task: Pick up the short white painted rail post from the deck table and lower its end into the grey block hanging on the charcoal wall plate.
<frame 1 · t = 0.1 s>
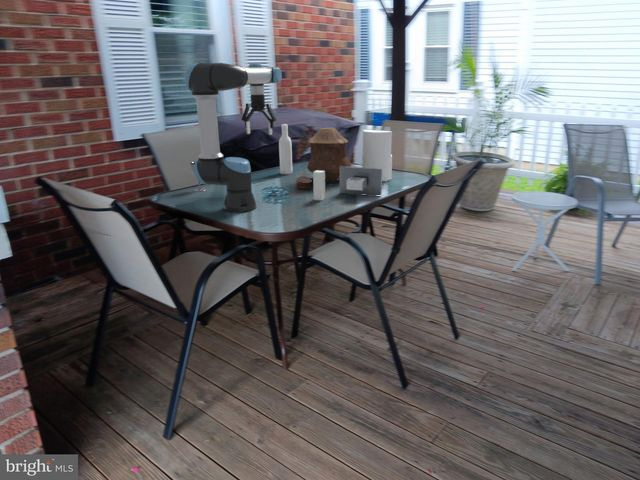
hand: (259, 134, 268), 28 cm above the table, tool pointing down, fingers open, 13 cm apart
grey block: (360, 194, 251), on the table
wine glass: (200, 190, 264), on the table
pottery vessel: (329, 180, 284), on the table
bottle: (286, 173, 304), on the table
rail post: (319, 198, 243), on the table
cylinder: (376, 179, 285), on the table
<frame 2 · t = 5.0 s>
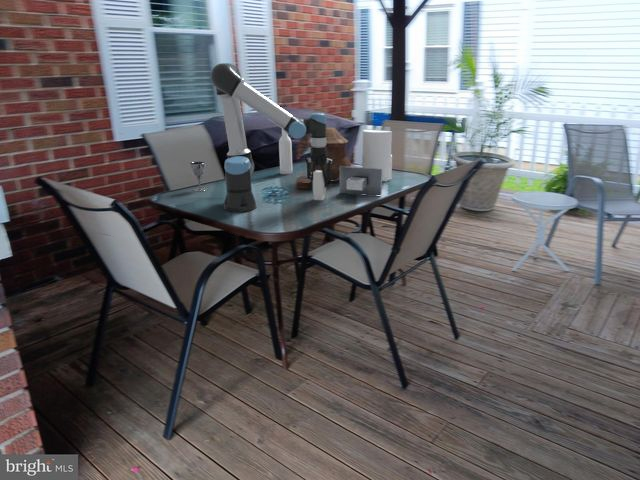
hand: (319, 192, 242), 3 cm above the table, tool pointing down, fingers closed on rail post, 4 cm apart
rail post: (319, 198, 243), on the table, touching gripper
everything else where it was.
when the fingers open (11 cm above the table, at t = 10.1 s): rail post drops 2 cm, resting on grey block.
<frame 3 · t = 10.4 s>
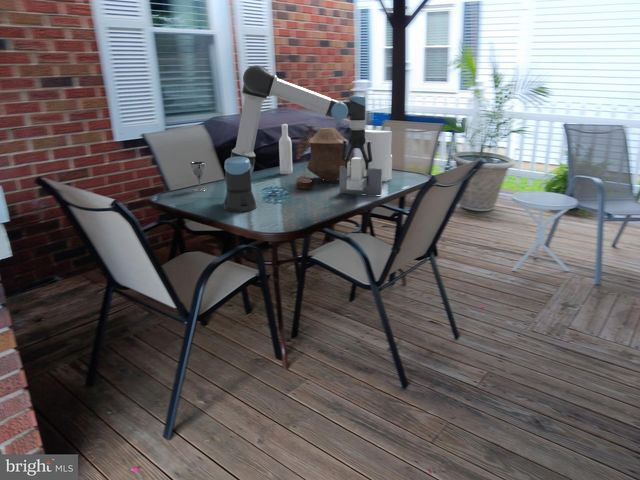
hand: (356, 175, 241), 11 cm above the table, tool pointing down, fingers open, 8 cm apart
rail post: (356, 186, 242), point 6 cm above the table, touching grey block
everything else where it was.
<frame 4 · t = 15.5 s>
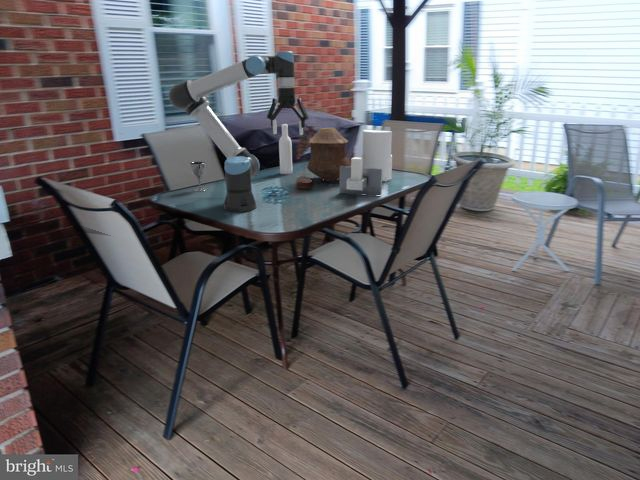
hand: (288, 134, 228), 33 cm above the table, tool pointing down, fingers open, 13 cm apart
nothing on the table moved.
at the end: rail post 0.0 cm from the target spot, point 6.0 cm above the table; rail post tilted 0°; the gripper is holding nothing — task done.
